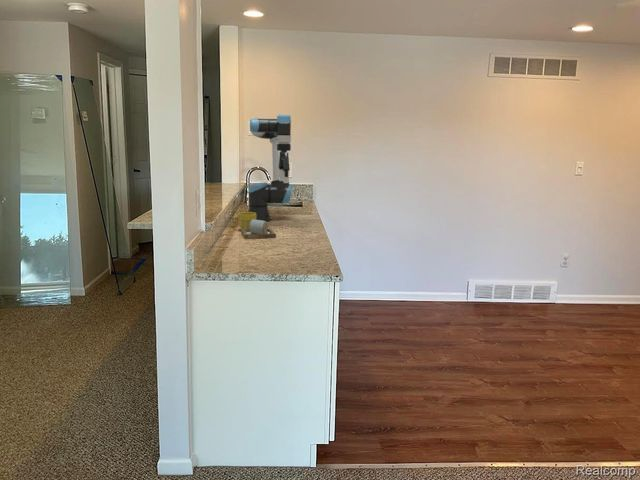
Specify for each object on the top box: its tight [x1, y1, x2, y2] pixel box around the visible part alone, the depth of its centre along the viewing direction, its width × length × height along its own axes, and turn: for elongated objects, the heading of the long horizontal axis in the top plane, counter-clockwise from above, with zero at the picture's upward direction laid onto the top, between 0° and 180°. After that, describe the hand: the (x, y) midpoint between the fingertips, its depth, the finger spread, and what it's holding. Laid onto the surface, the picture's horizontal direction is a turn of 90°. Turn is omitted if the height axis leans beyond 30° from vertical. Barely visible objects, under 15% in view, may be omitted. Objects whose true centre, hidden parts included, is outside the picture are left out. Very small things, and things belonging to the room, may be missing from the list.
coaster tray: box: [241, 228, 277, 240], centre depth 274 cm, size 16×16×2 cm
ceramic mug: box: [250, 219, 269, 234], centre depth 275 cm, size 11×8×8 cm
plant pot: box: [237, 211, 256, 232], centre depth 289 cm, size 10×10×10 cm
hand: (283, 182), depth 291 cm, fingers open, 13 cm apart
